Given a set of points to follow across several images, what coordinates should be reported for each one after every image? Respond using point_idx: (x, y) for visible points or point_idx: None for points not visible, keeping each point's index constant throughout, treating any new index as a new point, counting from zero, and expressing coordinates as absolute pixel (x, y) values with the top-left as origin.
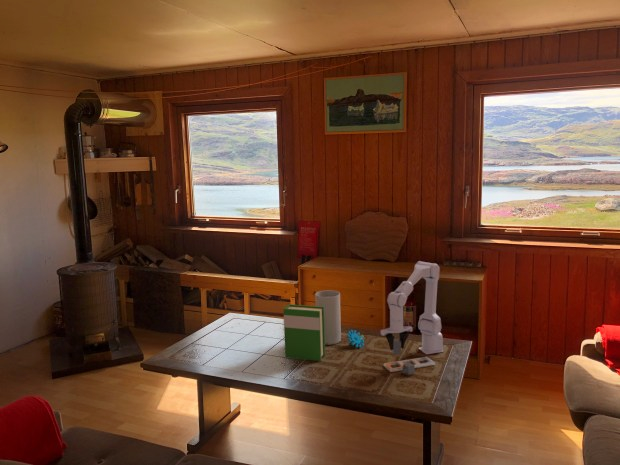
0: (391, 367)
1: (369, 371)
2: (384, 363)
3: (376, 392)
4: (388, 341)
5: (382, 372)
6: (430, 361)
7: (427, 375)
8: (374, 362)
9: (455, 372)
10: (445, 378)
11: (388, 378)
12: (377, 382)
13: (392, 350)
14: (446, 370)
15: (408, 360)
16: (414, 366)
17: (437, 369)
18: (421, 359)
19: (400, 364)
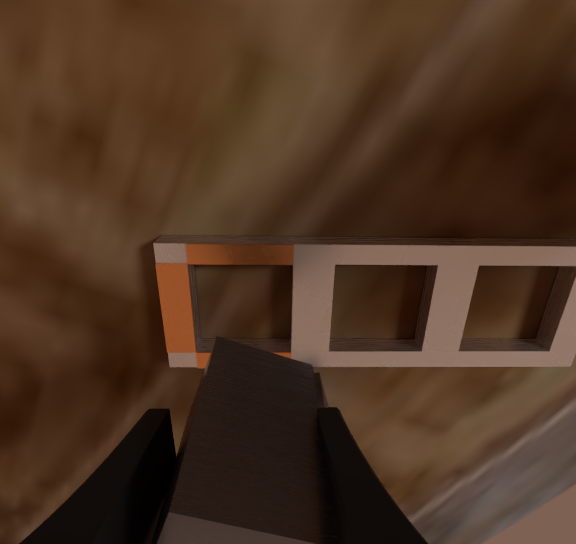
0: (190, 342)
1: (7, 288)
2: (161, 245)
3: (8, 529)
4: (70, 516)
5: (113, 336)
6: (554, 340)
7: (391, 457)
8: (95, 121)
9: (571, 471)
10: (458, 508)
11: (128, 423)
12: (38, 446)
13: (209, 358)
14: (548, 438)
15: (406, 262)
16: (384, 362)
17: (511, 412)
18: (532, 261)
19: (292, 312)
